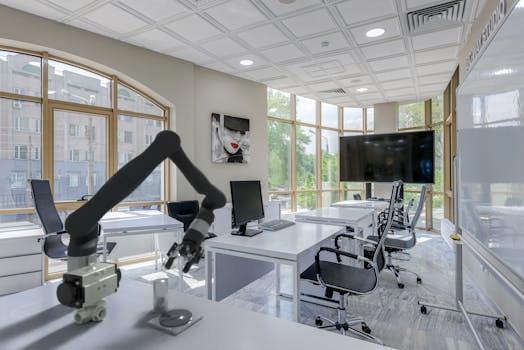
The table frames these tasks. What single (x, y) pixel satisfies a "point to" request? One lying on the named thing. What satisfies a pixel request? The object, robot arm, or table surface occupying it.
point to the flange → (175, 320)
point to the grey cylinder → (160, 295)
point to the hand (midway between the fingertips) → (175, 270)
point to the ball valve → (89, 290)
